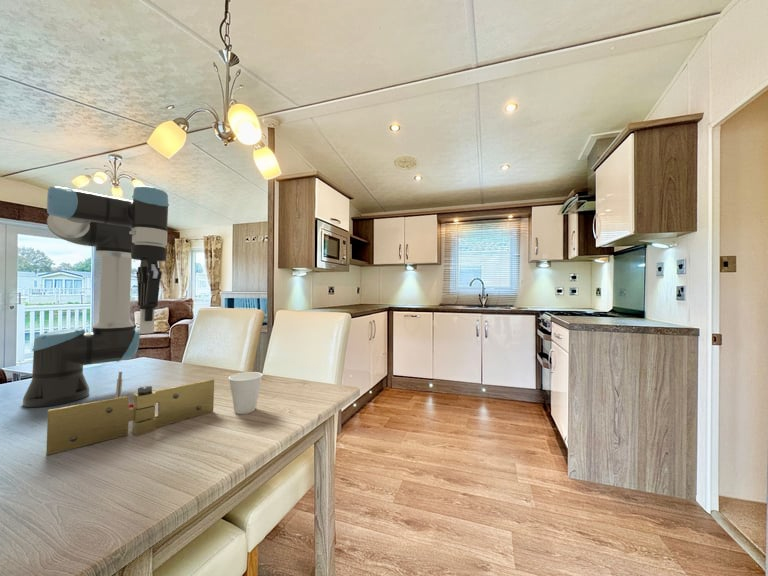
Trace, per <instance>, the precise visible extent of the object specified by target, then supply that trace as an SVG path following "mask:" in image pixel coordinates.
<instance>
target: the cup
mask: <svg viewBox="0 0 768 576" xmlns="http://www.w3.org/2000/svg"><path fill="white" fill-rule="evenodd" d="M263 376H264V374H263V373H262V372H257V371H245V372H238V373H234V374H231V375H229V376H228V380H229V384H230V385H229V386H230V391H231V392H230V393H231V397H232V404H233V411H234V413H235V414H237V415H246V414H247V415H248V414H251V413H253V412H254V411H255V410H256V409H257V404H258V398H259V394H260V389H261V384H262V379H263Z"/></svg>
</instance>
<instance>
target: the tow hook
mask: <svg viewBox="0 0 768 576" xmlns="http://www.w3.org/2000/svg"><path fill="white" fill-rule="evenodd" d="M122 388H123V372H122V371H118V377H117V380H116V391H115V398H118V397H122V390H123V389H122ZM131 408H134V406H133V403H129V409H131Z"/></svg>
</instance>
